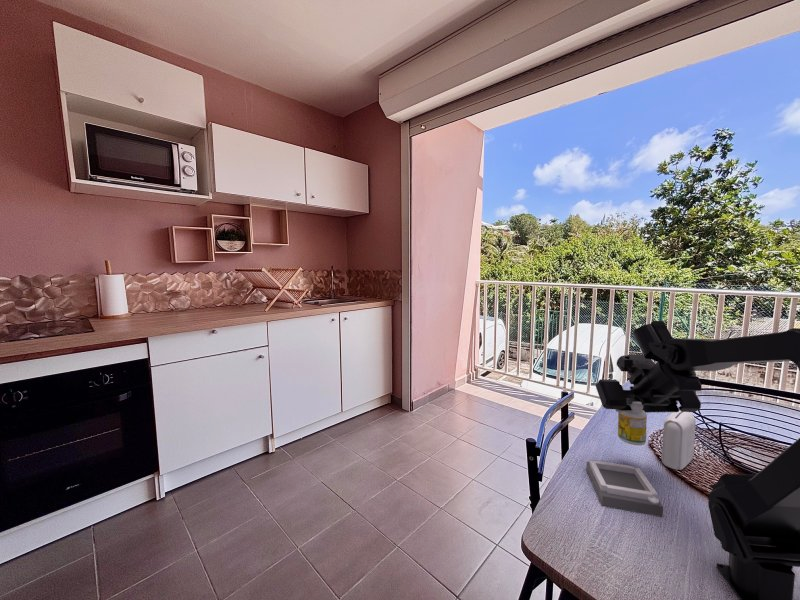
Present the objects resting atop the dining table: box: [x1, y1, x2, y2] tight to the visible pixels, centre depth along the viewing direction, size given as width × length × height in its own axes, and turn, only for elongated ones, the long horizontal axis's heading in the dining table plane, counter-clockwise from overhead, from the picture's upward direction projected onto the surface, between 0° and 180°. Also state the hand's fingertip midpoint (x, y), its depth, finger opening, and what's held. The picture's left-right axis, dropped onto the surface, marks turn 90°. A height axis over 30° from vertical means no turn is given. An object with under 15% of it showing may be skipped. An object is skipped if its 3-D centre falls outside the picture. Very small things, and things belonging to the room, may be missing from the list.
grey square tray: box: [586, 460, 664, 517], centre depth 66 cm, size 12×10×3 cm
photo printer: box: [661, 410, 697, 471], centre depth 76 cm, size 10×4×12 cm, turn 123°
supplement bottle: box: [617, 402, 648, 446], centre depth 74 cm, size 5×5×10 cm
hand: (628, 410), depth 75 cm, fingers closed on supplement bottle, 5 cm apart
